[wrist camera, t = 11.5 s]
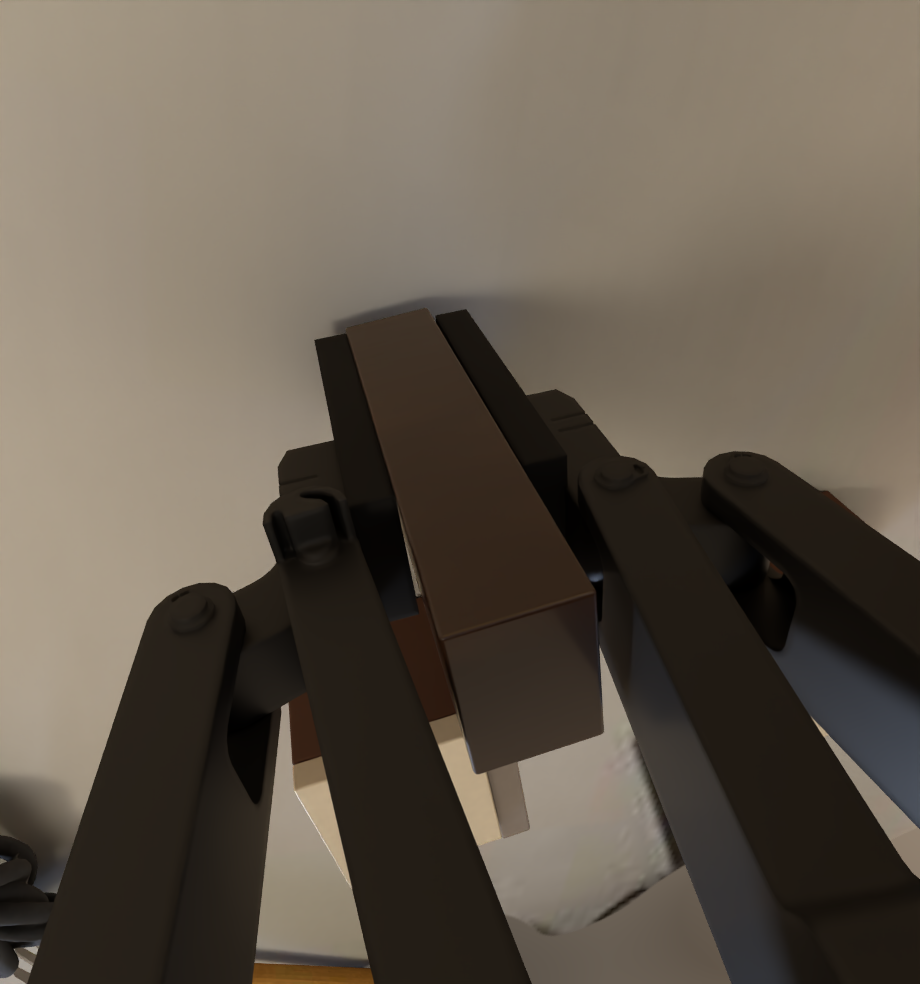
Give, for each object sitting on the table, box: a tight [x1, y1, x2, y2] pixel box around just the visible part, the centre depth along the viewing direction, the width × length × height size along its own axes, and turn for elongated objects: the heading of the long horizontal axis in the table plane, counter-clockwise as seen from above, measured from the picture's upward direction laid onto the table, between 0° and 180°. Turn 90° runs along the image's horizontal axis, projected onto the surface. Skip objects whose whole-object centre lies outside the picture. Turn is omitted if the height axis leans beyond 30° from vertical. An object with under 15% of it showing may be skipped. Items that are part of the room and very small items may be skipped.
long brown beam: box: [346, 308, 604, 838], centre depth 17 cm, size 2×17×10 cm, turn 9°
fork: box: [14, 946, 374, 984], centre depth 33 cm, size 2×2×20 cm
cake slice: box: [289, 597, 502, 888], centre depth 22 cm, size 5×6×6 cm
